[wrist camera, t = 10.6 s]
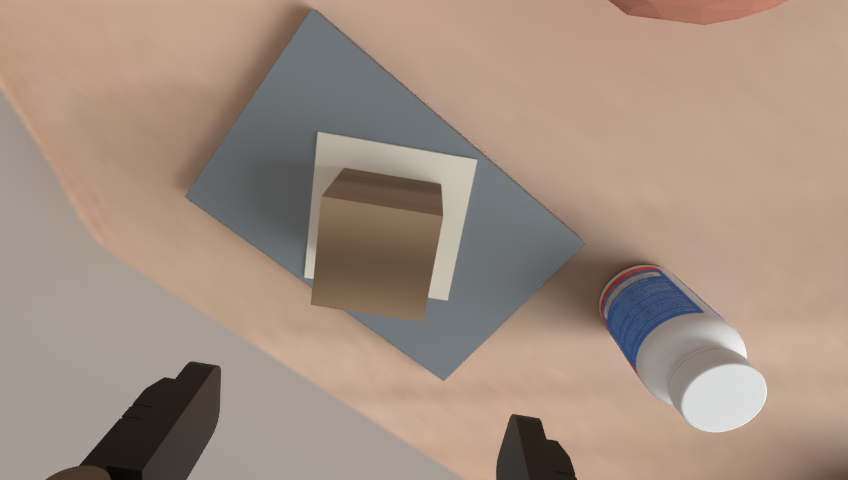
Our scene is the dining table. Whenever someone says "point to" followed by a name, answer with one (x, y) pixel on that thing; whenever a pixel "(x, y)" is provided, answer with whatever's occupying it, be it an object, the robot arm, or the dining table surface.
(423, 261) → the walnut block
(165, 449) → the robot arm
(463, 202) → the slate board
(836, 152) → the dining table surface
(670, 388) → the pill bottle
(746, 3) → the decorative flower
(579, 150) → the dining table surface
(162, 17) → the dining table surface
